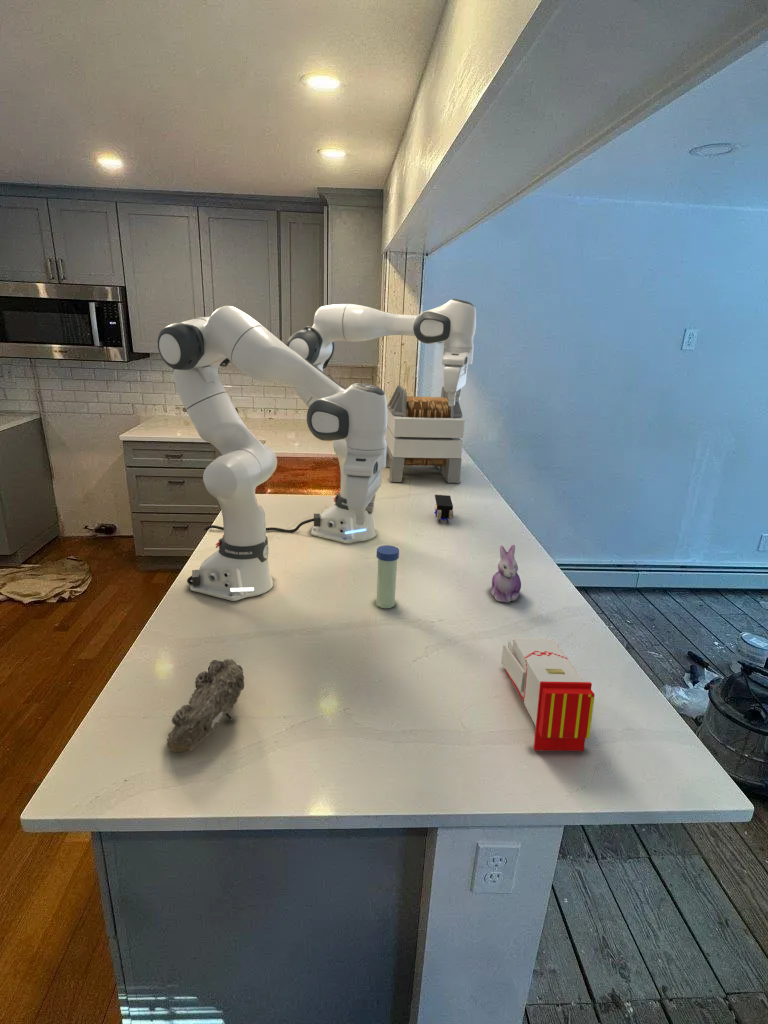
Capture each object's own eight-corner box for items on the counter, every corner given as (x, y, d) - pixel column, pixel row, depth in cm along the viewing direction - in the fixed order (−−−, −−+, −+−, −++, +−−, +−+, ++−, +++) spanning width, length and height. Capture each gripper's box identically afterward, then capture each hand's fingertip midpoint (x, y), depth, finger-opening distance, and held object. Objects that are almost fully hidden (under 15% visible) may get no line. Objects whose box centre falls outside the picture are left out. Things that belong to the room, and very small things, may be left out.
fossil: (192, 660, 117) (244, 628, 112) (224, 691, 120) (276, 661, 115) (142, 746, 98) (202, 712, 93) (182, 779, 101) (242, 748, 96)
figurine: (503, 606, 153) (510, 556, 148) (480, 590, 162) (486, 542, 156) (530, 600, 157) (537, 550, 152) (507, 584, 166) (513, 537, 161)
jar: (375, 599, 154) (377, 547, 149) (393, 599, 155) (396, 547, 150) (376, 608, 150) (379, 555, 145) (395, 608, 150) (398, 555, 145)
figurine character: (453, 528, 210) (448, 510, 224) (455, 510, 207) (450, 493, 220) (435, 528, 210) (432, 510, 223) (437, 509, 207) (433, 492, 220)
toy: (549, 621, 128) (604, 690, 99) (544, 676, 131) (595, 758, 101) (496, 620, 128) (535, 688, 98) (492, 675, 130) (528, 757, 101)
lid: (375, 551, 150) (376, 545, 149) (397, 552, 151) (397, 545, 150) (377, 561, 145) (377, 554, 144) (400, 561, 145) (400, 554, 145)
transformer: (382, 463, 289) (386, 382, 275) (445, 464, 293) (451, 384, 279) (390, 482, 257) (394, 392, 243) (460, 483, 261) (468, 394, 247)
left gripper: (362, 447, 136) (361, 501, 141) (341, 469, 117) (340, 531, 122) (388, 449, 135) (386, 504, 140) (371, 471, 116) (369, 534, 121)
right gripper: (453, 354, 180) (449, 398, 185) (441, 358, 161) (437, 407, 166) (473, 355, 178) (468, 399, 183) (463, 360, 160) (459, 409, 164)
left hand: (365, 516), depth 131 cm, fingers open, 8 cm apart
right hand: (454, 403), depth 174 cm, fingers open, 8 cm apart
